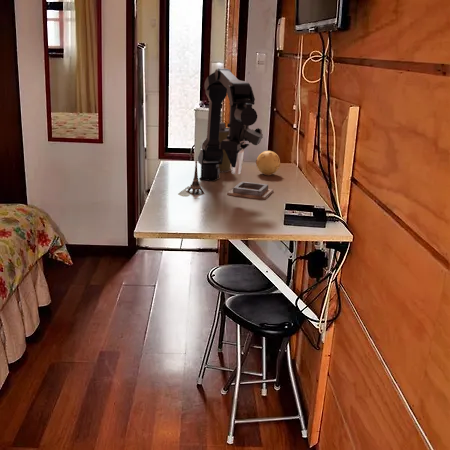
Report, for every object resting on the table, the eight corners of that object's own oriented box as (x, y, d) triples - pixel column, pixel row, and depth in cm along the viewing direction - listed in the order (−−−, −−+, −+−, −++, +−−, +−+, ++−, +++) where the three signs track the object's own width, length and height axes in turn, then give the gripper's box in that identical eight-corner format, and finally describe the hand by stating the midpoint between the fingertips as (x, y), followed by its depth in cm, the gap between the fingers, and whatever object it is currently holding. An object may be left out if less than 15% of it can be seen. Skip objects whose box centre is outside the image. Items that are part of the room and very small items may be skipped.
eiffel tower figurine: (187, 187, 213) (188, 152, 209) (213, 190, 211) (214, 155, 206) (174, 197, 199) (174, 160, 195) (201, 201, 197) (202, 163, 193)
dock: (227, 194, 204) (227, 187, 203) (237, 187, 214) (237, 180, 214) (264, 199, 199) (265, 192, 199) (273, 191, 210) (273, 184, 209)
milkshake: (226, 171, 197) (228, 143, 193) (242, 171, 197) (243, 143, 194) (227, 174, 192) (229, 145, 189) (243, 175, 193) (245, 146, 189)
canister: (201, 169, 239) (202, 122, 233) (215, 165, 248) (216, 119, 241) (223, 173, 234) (225, 125, 227) (236, 169, 242) (238, 122, 236)
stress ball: (261, 173, 241) (247, 160, 235) (276, 156, 240) (263, 142, 234) (272, 182, 233) (259, 169, 227) (288, 164, 233) (275, 151, 226)
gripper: (252, 127, 178) (250, 175, 183) (268, 119, 195) (265, 163, 200) (219, 123, 181) (217, 170, 187) (237, 116, 198) (235, 159, 203)
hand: (235, 166), depth 194 cm, fingers closed on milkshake, 4 cm apart
